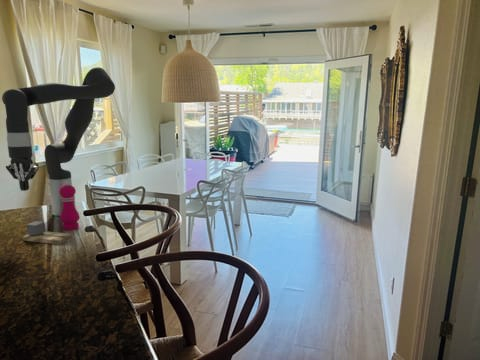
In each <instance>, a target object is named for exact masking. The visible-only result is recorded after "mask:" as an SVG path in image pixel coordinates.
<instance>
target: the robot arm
mask: <svg viewBox="0 0 480 360" xmlns="http://www.w3.org/2000/svg"><path fill="white" fill-rule="evenodd" d="M82 81H83V82H82V85H76V84H75V85H74V84H68V83H64V82H63V83H62V82H48V83H42V84H36V85H33V86H28V87H26V86H25V87H21V88H20V87H19V88H10V89H7V90H5V91H4V92H3V93H2V96H1V100H2V103H3V104H4V107H5V108H4V109H5V115H6V118H5V126H6V127H5V128H6V141H7V152H8V158H10V164H8V165H5V169H6V170H7V171H8V173H9V174H10V175H11V176H12V177H11V178H13V180H17V181H18V185H19V190H20V191H23V192H25V191H28V190H29V189H30V184H29V180H33V179H34V178H35V176H36V174H37V172H38V171H39V169H40V167H39V166H38V165H37V166H36V165H35V164H34V161H33V160H32V159H33V147H32V145H33V144H32V137H31V133H30V125H29V119H28V117H29V115H28V114H29V113H28V111H29V108H28V107H31V106H34V105H44V104H46V105H47V104H50V103H57V102H60V101H61V102H62V101H68V100H69V101H70V100H71V101H72V100H74V103H73V105H72V107H71V109H70V110H69V112H68V114H67V116H66V118H65V121H64V126H65V131H66V137H65V139H64V140H63V141H62V142H61V143H60V142H59V143H51V144H48V145H46V146H45V148H44V161H45V165H46V171H47V176H48V178H49V179H48V180H49V188H50V189H49V191H50V201H51V209H52V211H51V212H52V215H53V216H56V217H60V216H61V213H62V210H63V201H62V199H61V198H62V196H61V195H60V193H59V191H60V188H61V187H62V186H65V182H69V185H71V186H73V182H72V172H71V171H70V170H67V169H64V168H63V167H62V166H61V165H62V164H66V163H69V162H71V160H73V158H74V156H75V154H76V152H77V149H78V146H79V144H80V141H81V140H82V138H83V136H84V134H85V132H86V131H87V129H88V128H89V126H90V124H91V122H92V120H93V115H94V107H95V100H96V99H105V98H107V97H108V98H109V97H111V96H112V95H113V94H114V92H115V90H116V86H115V83H114V82H113V80H112V78H111V77H110V75H109V74H108V72H107V71H106V70H105V69H104V68H102V67H99V66H96V67H93V68H91V69H89V70H88V71H87V73H86V75H85V76H84V79H83V80H82ZM74 196H75V197H76V195H74ZM74 206H75V208H76V199H75V200H74Z"/></svg>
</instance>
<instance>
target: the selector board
mask: <svg viewBox="0 0 480 360" xmlns="http://www.w3.org/2000/svg"><path fill="white" fill-rule="evenodd" d="M71 239H73V233H64V232H54V231H46V230H45V232H43V233H41V234H39V235H28V234H26V235H24V236H22V240H23V241H24V242H25V241H27V242H33V243H34V242H36V243H43V244H53V245H62V244H64V243H65V242H67V241H69V240H71Z"/></svg>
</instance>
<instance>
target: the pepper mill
mask: <svg viewBox="0 0 480 360" xmlns="http://www.w3.org/2000/svg"><path fill="white" fill-rule="evenodd" d="M76 191H77V190H76V188H75V187H74V186H73V185H72V186H71V185H69V182H65V186H62V187H61V188H60V191H59V193H60V195H61V196H62V198H61V199H62V201H63V210H62V213H61V216H59V217H60V219H59V220H60V222H61V223H62V224H61V228H62V230H64V231H73V230H77V229H79V226H80V225H79V224H80V223H79V222H78V221H79V220H80V214H79V212H78V210H77V209H76V208H75V207H76V205H75V206H74V200H75V201H76V198H75V197H76V195H75V194H76ZM74 195H75V196H74Z"/></svg>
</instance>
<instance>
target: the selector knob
mask: <svg viewBox="0 0 480 360" xmlns="http://www.w3.org/2000/svg"><path fill="white" fill-rule="evenodd" d="M45 224H46V223H45V221H40V220H35V221H32V222H29V223H27V224H26V231H27V235H39V234H41V233H43V232H45V231H46V227H45Z"/></svg>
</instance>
